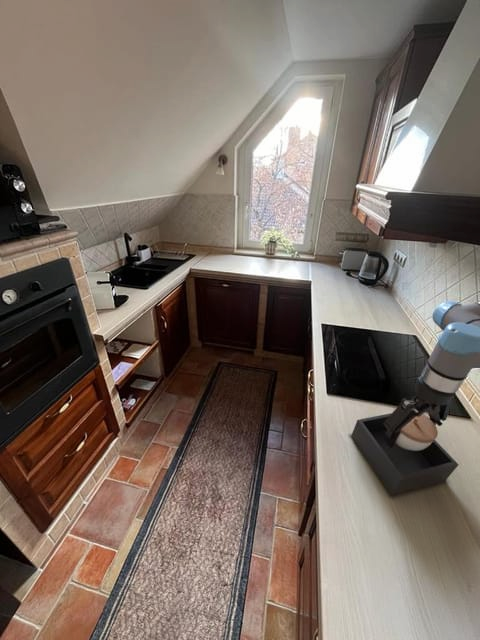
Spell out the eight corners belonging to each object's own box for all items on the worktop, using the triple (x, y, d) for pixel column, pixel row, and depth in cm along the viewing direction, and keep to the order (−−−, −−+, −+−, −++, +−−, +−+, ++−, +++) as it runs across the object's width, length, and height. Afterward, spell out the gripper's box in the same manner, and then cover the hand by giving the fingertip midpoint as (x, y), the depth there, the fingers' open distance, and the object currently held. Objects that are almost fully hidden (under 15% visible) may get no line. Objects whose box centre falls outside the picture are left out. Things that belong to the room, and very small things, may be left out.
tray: (397, 425, 86) (406, 410, 82) (445, 480, 71) (458, 464, 67) (351, 435, 82) (357, 419, 78) (390, 495, 67) (401, 479, 63)
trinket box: (379, 420, 78) (389, 399, 73) (417, 428, 76) (430, 406, 71) (389, 453, 69) (401, 431, 64) (432, 462, 67) (448, 440, 62)
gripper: (461, 366, 66) (427, 421, 78) (385, 378, 62) (361, 435, 73) (491, 387, 60) (449, 443, 71) (409, 402, 55) (378, 460, 67)
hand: (404, 439), depth 72 cm, fingers closed on trinket box, 11 cm apart
